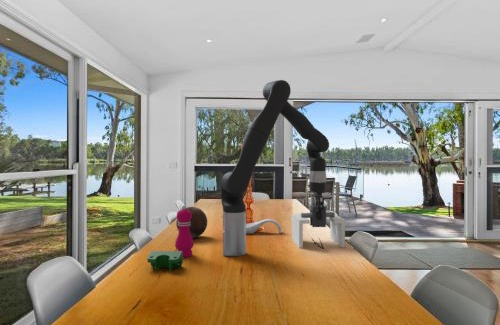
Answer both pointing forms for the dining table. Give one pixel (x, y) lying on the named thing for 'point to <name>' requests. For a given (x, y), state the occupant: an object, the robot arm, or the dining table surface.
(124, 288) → the dining table surface
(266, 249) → the dining table surface
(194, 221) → the wooden sphere
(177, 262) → the clamp
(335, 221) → the white channel bracket
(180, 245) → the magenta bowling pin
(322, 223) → the gray u-channel post
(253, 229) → the white curved piece
